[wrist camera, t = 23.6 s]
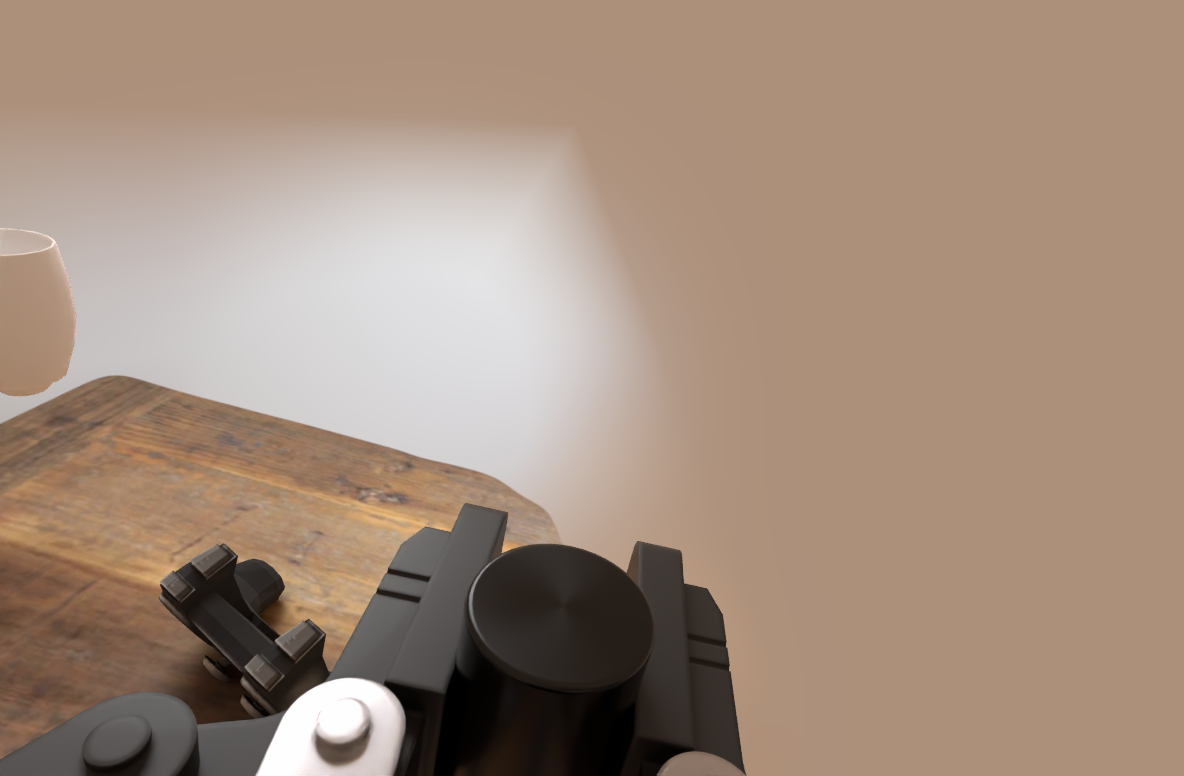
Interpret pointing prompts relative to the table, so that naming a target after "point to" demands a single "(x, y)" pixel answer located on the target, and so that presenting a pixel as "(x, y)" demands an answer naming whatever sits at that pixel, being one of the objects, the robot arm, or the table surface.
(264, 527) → the table surface
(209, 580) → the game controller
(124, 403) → the table surface
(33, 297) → the cup
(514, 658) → the dark round peg
